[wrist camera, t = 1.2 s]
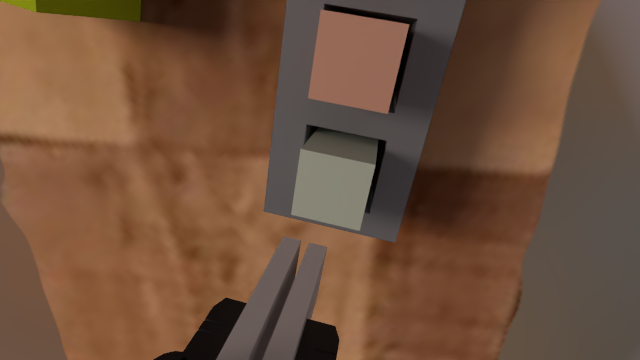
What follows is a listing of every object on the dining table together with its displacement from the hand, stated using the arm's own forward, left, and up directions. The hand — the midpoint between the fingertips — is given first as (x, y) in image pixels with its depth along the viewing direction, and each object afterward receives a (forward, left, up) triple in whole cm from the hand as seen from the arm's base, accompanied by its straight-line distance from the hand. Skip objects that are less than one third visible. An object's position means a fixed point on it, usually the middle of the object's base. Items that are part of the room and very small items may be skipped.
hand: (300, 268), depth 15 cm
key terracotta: (-8, 0, -16) cm, 18 cm away
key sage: (0, 0, -16) cm, 16 cm away
